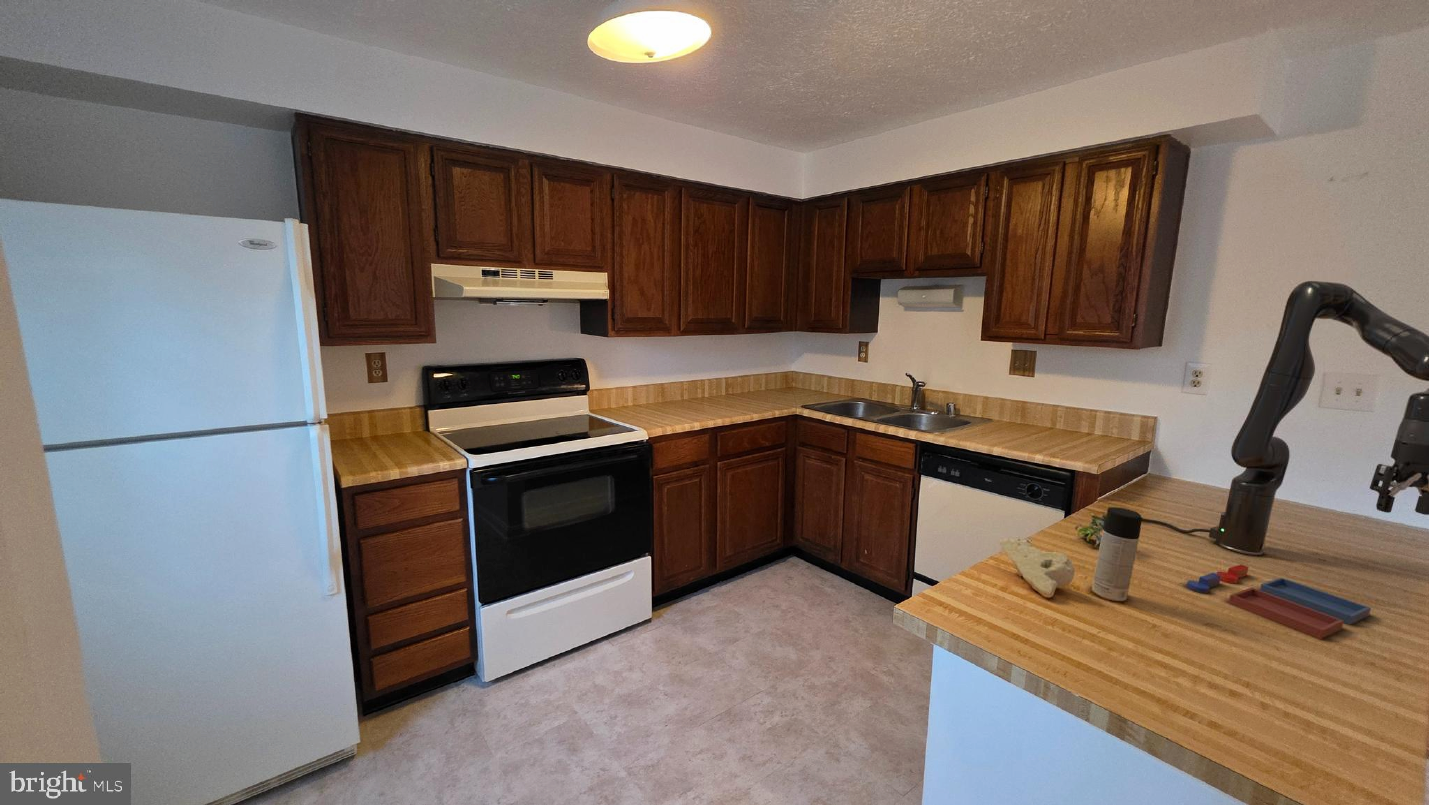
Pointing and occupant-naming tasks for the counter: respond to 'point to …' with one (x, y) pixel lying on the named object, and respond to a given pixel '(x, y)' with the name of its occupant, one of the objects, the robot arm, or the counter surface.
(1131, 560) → the spray can
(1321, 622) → the red tray
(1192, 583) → the blue spoon
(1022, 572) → the bone fragment
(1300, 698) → the counter surface
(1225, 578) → the red spoon
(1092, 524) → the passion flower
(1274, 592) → the blue tray
